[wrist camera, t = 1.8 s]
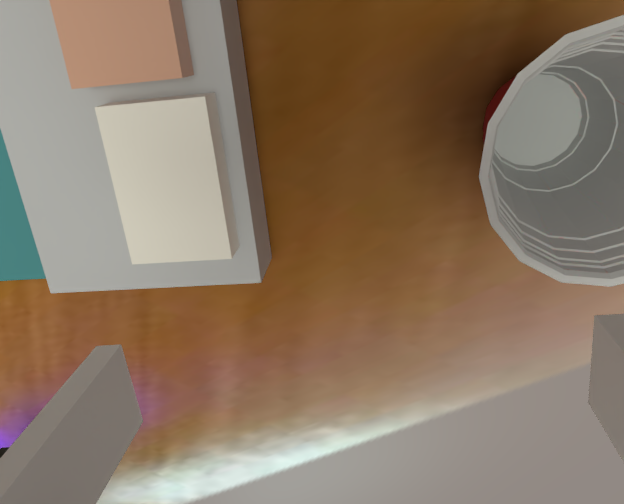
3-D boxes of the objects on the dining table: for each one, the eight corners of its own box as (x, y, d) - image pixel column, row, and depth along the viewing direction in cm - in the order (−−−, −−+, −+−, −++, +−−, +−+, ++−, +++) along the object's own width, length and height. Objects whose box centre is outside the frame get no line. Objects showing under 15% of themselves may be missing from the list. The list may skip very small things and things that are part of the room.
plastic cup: (675, 102, 32) (840, 142, 20) (533, 238, 35) (608, 333, 24) (538, -26, 30) (638, -57, 19) (405, 132, 34) (423, 183, 23)
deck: (-18, -84, 31) (-69, -99, 28) (220, -119, 30) (198, -140, 26) (80, 268, 39) (50, 293, 36) (271, 257, 38) (261, 282, 34)
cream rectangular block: (110, 102, 31) (94, 107, 29) (215, 92, 30) (205, 96, 28) (144, 251, 34) (132, 264, 32) (239, 246, 33) (231, 258, 31)
